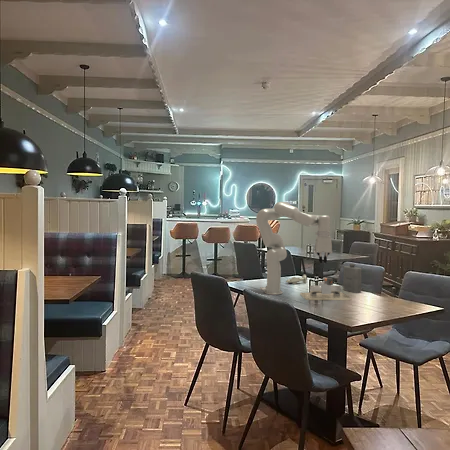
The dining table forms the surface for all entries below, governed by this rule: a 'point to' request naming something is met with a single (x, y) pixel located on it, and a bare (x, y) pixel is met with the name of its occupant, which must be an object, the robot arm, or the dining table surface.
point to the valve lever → (329, 281)
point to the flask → (352, 279)
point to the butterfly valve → (295, 280)
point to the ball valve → (325, 293)
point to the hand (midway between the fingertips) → (322, 262)
